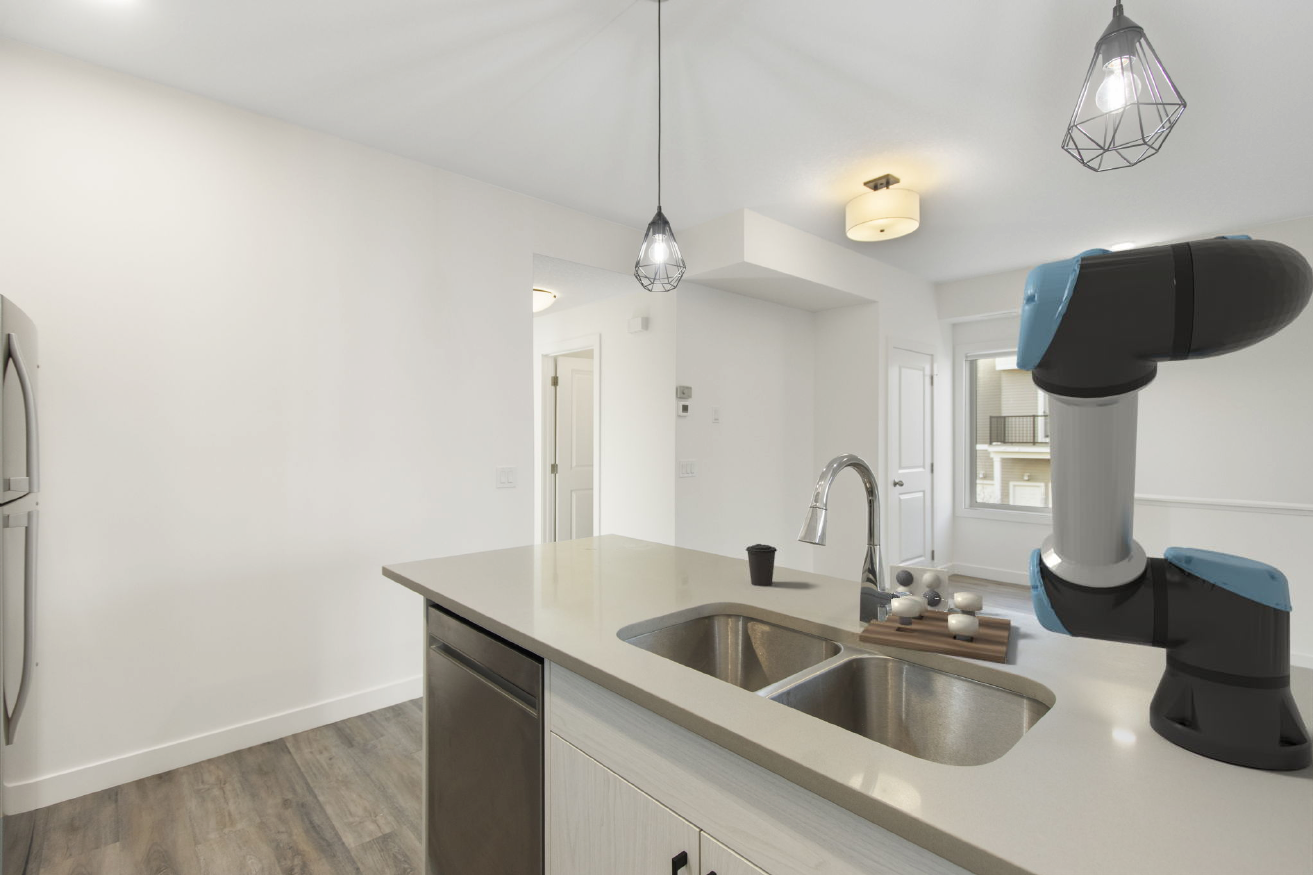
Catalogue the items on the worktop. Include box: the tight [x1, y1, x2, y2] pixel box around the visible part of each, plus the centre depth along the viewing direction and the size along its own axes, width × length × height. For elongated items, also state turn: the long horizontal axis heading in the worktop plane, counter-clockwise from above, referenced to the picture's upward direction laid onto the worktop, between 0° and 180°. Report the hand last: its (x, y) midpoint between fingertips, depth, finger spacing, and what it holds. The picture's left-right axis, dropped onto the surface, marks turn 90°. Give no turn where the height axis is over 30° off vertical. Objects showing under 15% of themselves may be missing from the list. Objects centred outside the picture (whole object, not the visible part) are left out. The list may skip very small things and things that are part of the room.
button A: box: [948, 613, 978, 642], centre depth 116 cm, size 5×5×4 cm
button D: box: [901, 595, 928, 620], centre depth 130 cm, size 5×5×4 cm
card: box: [889, 563, 951, 612], centre depth 142 cm, size 4×12×9 cm, turn 59°
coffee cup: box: [745, 543, 778, 587], centre depth 165 cm, size 8×8×10 cm
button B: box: [891, 597, 919, 626], centre depth 121 cm, size 5×5×4 cm
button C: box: [953, 591, 984, 617], centre depth 124 cm, size 5×5×4 cm
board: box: [858, 610, 1012, 665], centre depth 123 cm, size 24×24×1 cm
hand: (1092, 487), depth 107 cm, fingers closed
